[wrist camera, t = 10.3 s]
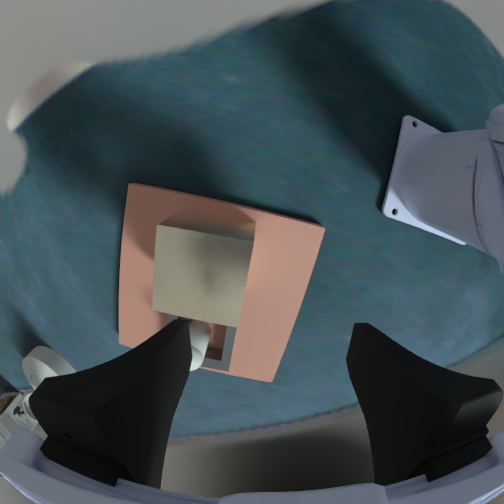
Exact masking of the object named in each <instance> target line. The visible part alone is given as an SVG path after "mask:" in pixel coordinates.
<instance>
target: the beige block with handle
mask: <svg viewBox="0 0 504 504" xmlns="http://www.w3.org/2000/svg"><path fill="white" fill-rule="evenodd" d="M255 228H256V222H252V221H247V220H241V219H235V218H230V217H224V216H218V215H212V214H206V213H200V212H194V211H188V210H181V211H180V212H178V213H176V214H174V215H173V216H171V217H169V218H167V219H166V220H164V221H162V222H160V223H159V224H157V229H156V242H155V256H154V273H153V301H152V310H155V311H159V312H163V313H168V324H169V323H170V322H171V321H173V320H174V319H181V320H182V317H186V318H190V319H195V320H200V321H205V322H210V323H215V324H220V325H226V326H227V329H226V335H225V341H224V347H223V349H218V348H213V347H207V349H206V352H205V356H204V359H203V363H202V364H201V367H206V368H211V369H216V370H222V371H227V372H229V367H230V362H231V356H232V351H233V346H234V340H235V335H236V329H237V328H238V325H239V320H240V314H241V309H242V304H243V298H244V293H245V288H246V282H247V277H248V272H249V266H250V261H251V256H252V250H253V245H254V238H255Z"/></svg>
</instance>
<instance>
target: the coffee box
mask: <svg viewBox="0 0 504 504" xmlns="http://www.w3.org/2000/svg"><path fill="white" fill-rule="evenodd" d="M37 423H38V422H37V421H34V420H32V419H30V418H29V417H28V416H27V414H26V413H25V411H24V408H23V395H22V394H21V393H20V392H9V393H2V395H1V396H0V451H1V450H2V449H3V447H4V446H5V444H6V443H7V441H8V440H9V438H10V437H11V435H12V434H13V433H14V431H15V430H16V428H17V427H18V426H22V427H24V428H25V429H27V430H29V431H31V432H32V431H33V429H34V428H35V426H36V425H37ZM0 475H1V474H0ZM1 476H2V475H1ZM2 477H3V476H2Z"/></svg>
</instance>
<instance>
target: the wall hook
mask: <svg viewBox="0 0 504 504" xmlns="http://www.w3.org/2000/svg"><path fill="white" fill-rule="evenodd" d="M22 365H23V370H24V373H25V375H26V377H27V379H28V381H29V382H30V384H31V385H32V387H33V388H34V389H36V388H37V387H38V386H39V384H40V383H41V382H42V381H43V380H44V378H45V377H53V376H60V375H66V374H71V373H75V372H76V371H75V370H74V369H73V368H72V366H71V365H70V364H69V363H68V362H67V361H66V360H65V359H64V358H63V357H62V356H60V355H59V354H58V353H56V352H55V351H53V350H52V349H50V348H48V347H45V346H37V347H35V348H34V349H33V350H32V351H31V352H30V353H29V354H28V355H27V356H26V357H25V358H24V359H23V363H22ZM34 391H35V390H33V389H29V390H27V391H25V392H24V394H23V408H24V411H25V413H26V414H27V416H28V417H29V418H30V419H32V420H34V421H37V419H36V418H35V416H34V415H33V413H32V411H31V409H30V406H29V403H28V400H29V397H30V395H31V394H32V393H33V392H34ZM37 422H38V421H37Z"/></svg>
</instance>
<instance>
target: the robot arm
mask: <svg viewBox="0 0 504 504" xmlns="http://www.w3.org/2000/svg"><path fill="white" fill-rule="evenodd" d="M413 122H414V123H415V127H414V126H413V124H412V123H413ZM485 127H486V129H484V130H470V131H459V132H449V133H442V132H440V131H439V130H437V129H435V128H433V127H431V126H429V125H428V124H426V123H424V122H422V121H420V120H418V119H416V118H414V117H412V116H410V115H407V116H404V117H403V119H402V124H401V130H400V135H399V140H398V145H397V149H396V154H395V158H394V163H393V167H392V171H391V175H390V179H389V183H388V187H387V191H386V195H385V198H384V202H383V206H382V213H383V214H384V215H385V216H387V217H390V218H393V219H396V220H399V221H402V222H404V223H407V224H410V225H413V226H416V227H418V228H421V229H424V230H426V231H429V232H432V233H434V234H437V235H439V236H442V237H444V238H447V239H450V240H452V241H454V242H457V243H459V244H462V245H465V244H466V243H467V244H469V245H471V246H473V247H475V248H477V249H479V250H481V251H483V252H485V253H487V254H489V255H491V256H493V257H495V258H496V259H497V261H498V263H499V267H500V271H501V272H503V273H504V104H501V105H499V106H497V107H495V108H494V109H492V111H491V113H490V116H489V119H488V120H487V121H486V124H485ZM393 209H395V210H396V212H395V214H394V215H393V214H392V210H393ZM192 357H193V356H192V348H191V340H190V331H189V321H188V320H181V319H174V320H173V321H171V322H170V323H169V324H167V325H166V326H165V327H163V328H162V329H161V330H159V331H158V332H157V333H155V334H154V335H153V336H151V337H150V338H148V339H147V340H146V341H144V342H142V343H141V344H139V345H138V346H136V347H135V348H133V349H132V350H130V351H128V352H126V353H125V354H123V355H121V356H119V357H117V358H115V359H113V360H110V361H108V362H106V363H103V364H100V365H98V366H95V367H93V368H90V369H86V370H83V371H79V372H75V373H71V374H66V375H60V376H53V377H45V378H44V380H43V381H42V382H41V383H40V384H39V386H38V387H37V388H36V389H35V391H34V392H33V393H32V394H31V395H30V397H29V400H28V403H29V406H30V409H31V411H32V413H33V415H34V416H35V418H36V419H37V421H38V422H39V424H40V425H41V427H42V428H43V430H44V431H45V432H46V434H47V435H48V437H47V438H46V440H45V441H44V440H43V439H42V438H40V437H39V436H38V435H36V434H34V433H32V432H31V431H29V430H27V429H25V428H24V427H22V426H18V427H17V428H16V430H15V431H14V433H13V434H12V435H11V437H10V438H9V440H8V441H7V443H6V444H5V446H4V447H3V449H2V450H1V451H0V474H1V475H2V476H3V477H4V478H5V479H7V480H8V481H9V482H10V483H11V484H12V485H13V486H14V487H16V488H17V489H18V490H19V491H20V492H21V493H23V494H24V495H25V496H26V497H28V498H29V499H31V500H32V501H34V502H35V503H37V504H486V503H487V502H488V501H490V500H492V499H493V498H495V497H496V496H498V495H499V494H500V493H501V492H502V491H504V430H502V431H500V432H499V433H497V434H495V435H494V436H492V437H491V438H490V439H489V440H488V439H487V437H486V435H487V434H488V432H489V431H488V428H487V427H486V424H487V423H488V422H489V420H490V419H491V417H492V416H493V415H494V413H495V412H496V410H497V409H498V407H499V405H500V404H501V401H502V399H503V391H502V389H501V388H500V387H499V386H498V384H497V383H496V382H495V381H494V380H493V379H487V378H480V377H473V376H468V375H465V374H461V373H458V372H454V371H451V370H448V369H446V368H443V367H440V366H438V365H435V364H433V363H431V362H429V361H427V360H425V359H423V358H421V357H419V356H417V355H415V354H414V353H412V352H410V351H409V350H407V349H405V348H404V347H402V346H401V345H399V344H398V343H396V342H395V341H393V340H392V339H391V338H389V337H388V336H386V335H385V334H383V333H382V332H381V331H379V330H378V329H376V328H375V327H373V326H372V325H370V324H369V323H354V328H353V332H352V336H351V341H350V345H349V349H348V353H347V357H346V362H347V367H348V372H349V376H350V379H351V382H352V385H353V387H354V390H355V393H356V395H357V398H358V401H359V403H360V406H361V409H362V411H363V414H364V417H365V421H366V424H367V429H368V433H369V439H370V445H371V451H372V457H373V466H374V476H375V477H374V479H375V483H365V484H355V485H349V486H343V487H337V488H330V489H320V490H310V491H297V492H258V493H257V492H256V493H238V494H234V495H230V496H225V497H223V498H221V499H217V498H208V497H200V496H193V495H187V494H181V493H176V492H170V491H166V490H161V489H160V486H161V478H162V470H163V464H164V458H165V452H166V447H167V442H168V437H169V432H170V428H171V424H172V420H173V417H174V413H175V411H176V408H177V405H178V403H179V400H180V397H181V395H182V392H183V389H184V387H185V384H186V381H187V379H188V376H189V371H190V367H191V362H192Z"/></svg>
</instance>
